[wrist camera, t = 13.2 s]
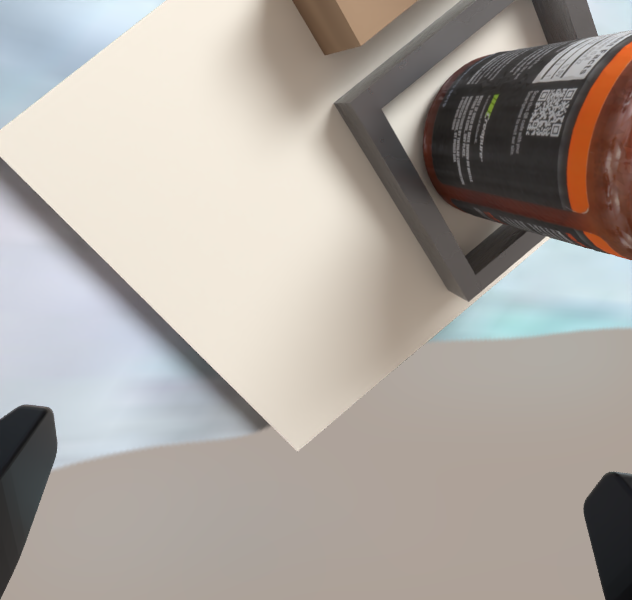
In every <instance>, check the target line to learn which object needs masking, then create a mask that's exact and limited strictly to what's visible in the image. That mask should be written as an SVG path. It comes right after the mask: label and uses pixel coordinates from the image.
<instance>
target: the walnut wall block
mask: <svg viewBox="0 0 632 600" xmlns="http://www.w3.org/2000/svg"><path fill="white" fill-rule="evenodd" d="M292 1H293V3H294V4H295V6H296V8H297V9H298V11H299V13H300V15H301V16H302V18H303V20H304V21H305V23H306V25H307V26H308V28H309V30H310V31H311V33H312V35H313V36H314V38H315V40H316V42H317V43H318V45H319V47H320V48H321V50H322V52H323V53H324V55H329V54H333V53H336V52H340V51H344V50H348V49H352V48H356V47H359V46H362V45H363V44H364V43H365V42H367V41H368V40H369V39H370V38H372V37H373V36H374V35H375V34H377V33H378V32H379V31H380V30H382V29H383V28H384V27H385V26H387V25H388V24H389V23H390V22H392V21H393V20H394V19H395V18H397V17H398V16H399V15H400V14H402V13H403V12H404V11H405V10H407V9H408V8H409V7H410V6H412V5H413V4H414V3H415V2H417V1H418V0H292Z"/></svg>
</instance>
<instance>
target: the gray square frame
mask: <svg viewBox="0 0 632 600" xmlns="http://www.w3.org/2000/svg"><path fill="white" fill-rule="evenodd" d="M513 1H515V0H460V1H459V2H458V3H457V4H456V5H454V6H453V7H452V8H451V9H449V10H448V11H447V12H446V13H444V14H443V15H442V16H441V17H439V18H438V19H437V20H436V21H434V22H433V23H432V24H431V25H429V26H428V27H427V28H426V29H425V30H423V31H422V32H421V33H420V34H418V35H417V36H416V37H415V38H413V39H412V40H411V41H410V42H408V43H407V44H406V45H405V46H403V47H402V48H401V49H400V50H399V51H397V52H396V53H395V54H394V55H392V56H391V57H390V58H389V59H387V60H386V61H385V62H384V63H382V64H381V65H380V66H379V67H377V68H376V69H375V70H374V71H373V72H371V73H370V74H369V75H368V76H366V77H365V78H364V79H363V80H361V81H360V82H359V83H358V84H356V85H355V86H354V87H353V88H351V89H350V90H349V91H348V92H347V93H345V94H344V95H343V96H342V97H340V98H339V99H338V100H337V101H335V102H334V105H335V107H336V108H337V110H338V111H339V113H340V115H341V116H342V118H343V120H344V121H345V123H346V125H347V126H348V128H349V129H350V131H351V133H352V134H353V136H354V138H355V139H356V141H357V143H358V144H359V146H360V147H361V149H362V151H363V152H364V154H365V156H366V157H367V159H368V160H369V162H370V164H371V165H372V167H373V169H374V170H375V172H376V174H377V175H378V177H379V178H380V180H381V182H382V183H383V185H384V187H385V188H386V190H387V192H388V193H389V195H390V196H391V198H392V200H393V201H394V203H395V205H396V206H397V208H398V209H399V211H400V213H401V214H402V216H403V218H404V219H405V221H406V223H407V224H408V226H409V227H410V229H411V231H412V232H413V234H414V236H415V237H416V239H417V241H418V242H419V244H420V245H421V247H422V249H423V250H424V252H425V254H426V255H427V257H428V258H429V260H430V262H431V263H432V265H433V267H434V268H435V270H436V272H437V273H438V275H439V276H440V278H441V280H442V281H443V283H444V285H445V286H446V288H447V290H448V291H450V292H452V293H453V294H455V295H457V296H459V297H461V298H462V299H464V300H466V301H468V302H469V301H470V300H472V299H473V298H474V297H475V296H476V295H478V294H479V293H480V292H481V291H482V290H483V289H485V288H486V287H487V286H488V285H489V284H491V283H492V282H493V281H494V280H495V279H497V278H498V277H499V276H500V275H501V274H502V273H504V272H505V271H506V270H507V269H508V268H510V267H511V266H512V265H513V264H514V263H515V262H517V261H518V260H519V259H520V258H521V257H523V256H524V255H525V254H526V253H527V252H528V251H530V250H531V249H532V248H533V247H534V246H536V245H537V244H538V243H539V242H540V241H541V240H543V239H544V238H545V237H546V236H543V235H539V234H536V233H532V232H529V231H525V230H522V229H518V228H515V227H512V226H508V225H505V224H502V225H501V226H500V227H499V228H498V229H496V230H495V231H494V232H493V233H492V234H491V235H489V236H488V237H487V238H486V239H485V240H483V241H482V242H481V243H480V244H479V245H477V246H476V247H475V248H474V249H473V250H471V251H470V252H469V253H468V254H467V255H466V256H464V254H463V252H462V250H461V249H460V247H459V245H458V243H457V242H456V240H455V238H454V236H453V234H452V233H451V231H450V229H449V227H448V226H447V224H446V222H445V220H444V219H443V217H442V215H441V213H440V212H439V210H438V208H437V206H436V204H435V203H434V201H433V199H432V197H431V196H430V194H429V192H428V190H427V189H426V187H425V185H424V183H423V182H422V180H421V178H420V176H419V174H418V173H417V171H416V169H415V167H414V166H413V164H412V162H411V160H410V159H409V157H408V155H407V153H406V152H405V150H404V148H403V146H402V144H401V143H400V141H399V139H398V137H397V136H396V134H395V132H394V130H393V129H392V127H391V125H390V123H389V122H388V120H387V118H386V116H385V114H384V113H383V111H382V108H383V107H384V106H386V105H387V104H388V103H389V102H390V101H392V100H393V99H394V98H395V97H397V96H398V95H399V94H400V93H402V92H403V91H404V90H405V89H406V88H408V87H409V86H410V85H411V84H413V83H414V82H415V81H416V80H417V79H419V78H420V77H421V76H422V75H424V74H425V73H426V72H427V71H429V70H430V69H431V68H432V67H433V66H435V65H436V64H437V63H438V62H440V61H441V60H442V59H443V58H445V57H446V56H447V55H448V54H449V53H451V52H452V51H453V50H454V49H456V48H457V47H458V46H459V45H461V44H462V43H463V42H464V41H465V40H467V39H468V38H469V37H470V36H472V35H473V34H474V33H475V32H477V31H478V30H479V29H480V28H481V27H483V26H484V25H485V24H486V23H488V22H489V21H490V20H491V19H493V18H494V17H495V16H496V15H497V14H499V13H500V12H501V11H502V10H504V9H505V8H506V7H507V6H509V5H510V4H511V3H512V2H513ZM532 3H533V5H534V8H535V11H536V13H537V16H538V19H539V21H540V24H541V27H542V30H543V32H544V35H545V38H546V40H547V43H548V44H553V43H560V42H565V41H572V40H577V39H583V38H590V37H596V36H598V34H597V31H596V28H595V25H594V22H593V19H592V16H591V13H590V10H589V6H588V3H587V0H532Z"/></svg>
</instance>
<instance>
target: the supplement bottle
mask: <svg viewBox="0 0 632 600" xmlns="http://www.w3.org/2000/svg"><path fill="white" fill-rule="evenodd" d="M423 157H424V162H425V167H426V170H427V173H428V176H429V178H430V180H431V182H432V184H433V186H434V188H435V189H436V191H437V192H438V194H439V195H440V196H441V197H442V198H443V199H444V200H445V201H446V202H447V203H448V204H450V205H451V206H453V207H454V208H456V209H458V210H460V211H463V212H465V213H468V214H471V215H473V216H476V217H480V218H483V219H487V220H490V221H494V222H497V223H500V224H505V225H508V226H512V227H515V228H518V229H522V230H525V231H529V232H532V233H536V234H539V235H543V236H547V237H550V238H553V239H557V240H561V241H564V242H568V243H571V244H575V245H578V246H582V247H584V248H589V249H593V250H595V251H600V252H603V253H607V254H612V255H615V256H618V257H622V258H626V259H629V260H632V30H631V31H625V32H619V33H613V34H607V35H601V36H596V37H590V38H583V39H577V40H572V41H565V42H560V43H553V44H546V45H541V46H535V47H529V48H523V49H516V50H512V51H503V52H497V53H495V54H491V55H486V56H483V57H480V58H477V59H475V60H472V61H470V62H469V63H467V64H465V65H464V66H462V67H461V68H460V69H458V70H457V71H456V72H455V73H453V74H452V75H451V76H450V77H449V78H448V79H447V81H446V82H445V83H444V84H443V85H442V87H441V88H440V90H439V92H438V94H437V95H436V97H435V99H434V100H433V103H432V105H431V107H430V109H429V112H428V116H427V119H426V122H425V127H424V136H423Z"/></svg>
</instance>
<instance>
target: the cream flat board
mask: <svg viewBox="0 0 632 600" xmlns="http://www.w3.org/2000/svg"><path fill="white" fill-rule="evenodd" d="M459 1H460V0H418V1H417V2H415V3H414V4H413V5H412V6H410V7H409V8H408V9H407V10H405V11H404V12H403V13H402V14H400V15H399V16H398V17H397V18H395V19H394V20H393V21H392V22H390V23H389V24H388V25H387V26H385V27H384V28H383V29H382V30H380V31H379V32H378V33H377V34H375V35H374V36H373V37H372V38H370V39H369V40H368V41H367V42H365V43H364V44H363V45H362V46H359V47H356V48H352V49H348V50H344V51H340V52H336V53H333V54H329V55H324V53H323V52H322V50H321V48H320V47H319V45H318V43H317V42H316V40H315V38H314V36H313V35H312V33H311V31H310V30H309V28H308V26H307V25H306V23H305V21H304V20H303V18H302V16H301V15H300V13H299V11H298V9H297V8H296V6H295V4H294V3H293V1H292V0H166V1H165V2H163V3H162V4H161V5H160V6H158V7H157V8H156V9H155V10H153V11H152V12H151V13H149V14H148V15H147V16H146V17H144V18H143V19H142V20H140V21H139V22H138V23H137V24H135V25H134V26H133V27H131V28H130V29H129V30H128V31H126V32H125V33H124V34H122V35H121V36H120V37H119V38H117V39H116V40H115V41H113V42H112V43H111V44H110V45H108V46H107V47H106V48H104V49H103V50H102V51H101V52H99V53H98V54H97V55H95V56H94V57H93V58H92V59H90V60H89V61H88V62H86V63H85V64H84V65H83V66H81V67H80V68H79V69H78V70H76V71H75V72H74V73H72V74H71V75H70V76H69V77H67V78H66V79H65V80H63V81H62V82H61V83H60V84H58V85H57V86H56V87H54V88H53V89H52V90H51V91H49V92H48V93H47V94H45V95H44V96H43V97H42V98H40V99H39V100H38V101H36V102H35V103H34V104H33V105H31V106H30V107H29V108H27V109H26V110H25V111H24V112H22V113H21V114H20V115H18V116H17V117H16V118H15V119H13V120H12V121H11V122H10V123H8V124H7V125H6V126H4V127H3V128H2V129H1V130H0V157H1V158H2V159H3V160H4V161H5V162H6V163H7V164H8V165H9V166H10V167H11V168H12V169H13V170H14V171H15V172H16V173H17V174H18V175H19V176H20V177H21V178H22V179H23V180H24V181H25V182H26V183H27V184H28V185H29V186H30V187H31V188H32V189H33V190H34V191H35V192H36V193H37V194H38V195H39V196H40V197H41V198H42V199H43V200H44V201H45V202H46V203H47V204H48V205H49V206H50V207H51V208H52V209H53V210H54V211H55V212H56V213H57V214H58V215H59V216H60V217H61V218H62V219H63V220H64V221H65V222H66V223H67V224H68V225H69V226H71V227H72V228H73V229H74V230H75V231H76V232H77V233H78V234H79V235H80V236H81V237H82V238H83V239H84V240H85V241H86V242H87V243H88V244H89V245H90V246H91V247H92V248H93V249H94V250H95V251H96V252H97V253H98V254H99V255H100V256H101V257H102V258H103V259H104V260H105V261H106V262H107V263H108V264H109V265H110V266H111V267H112V268H113V269H114V270H115V271H116V272H117V273H118V274H119V275H120V276H121V277H122V278H123V279H124V280H125V281H126V282H127V283H128V284H129V285H130V286H131V287H132V288H133V289H134V290H135V291H136V292H137V293H138V294H139V295H140V296H141V297H142V298H143V299H144V300H145V301H146V302H147V303H148V304H149V305H150V306H151V307H152V308H153V309H154V310H155V311H156V312H157V313H158V314H159V315H160V316H161V317H162V318H163V319H164V320H165V321H166V322H167V323H168V324H169V325H170V326H171V327H172V328H173V329H174V330H175V331H176V332H177V333H178V334H179V335H180V336H181V337H182V338H183V339H184V340H185V341H186V342H187V343H188V344H189V345H190V346H191V347H192V348H193V349H194V350H195V351H196V352H197V353H198V354H199V355H200V356H201V357H202V358H203V359H204V360H205V361H206V362H207V363H208V364H209V365H210V366H211V367H212V368H213V369H214V370H216V371H217V372H218V373H219V374H220V375H221V376H222V377H223V378H224V379H225V380H226V381H227V382H228V383H229V384H230V385H231V386H232V387H233V388H234V389H235V390H236V391H237V392H238V393H239V394H240V395H241V396H242V397H243V398H244V399H245V400H246V401H247V402H248V403H249V404H250V405H251V406H252V407H253V408H254V409H255V410H256V411H257V412H258V413H259V414H260V415H261V416H262V417H263V418H264V419H265V420H266V421H267V422H268V423H269V424H270V425H271V426H272V427H273V428H274V429H275V430H276V431H277V432H278V433H279V434H280V435H281V436H282V437H283V438H284V439H285V440H286V441H287V442H288V443H289V444H290V445H291V446H292V447H293V448H294V449H295V450H296V451H297V452H298V451H299V450H300V449H301V448H303V447H304V446H305V445H306V444H307V443H308V442H310V441H311V440H312V439H313V438H314V437H315V436H317V435H318V434H319V433H320V432H321V431H323V430H324V429H325V428H326V427H327V426H329V425H330V424H331V423H332V422H333V421H335V420H336V419H337V418H338V417H339V416H340V415H342V414H343V413H344V412H345V411H346V410H347V409H349V408H350V407H351V406H352V405H353V404H355V403H356V402H357V401H358V400H359V399H361V398H362V397H363V396H364V395H365V394H366V393H368V392H369V391H370V390H371V389H372V388H374V387H375V386H376V385H377V384H378V383H379V382H381V381H382V380H383V379H384V378H385V377H386V376H388V375H389V374H390V373H391V372H392V371H394V370H395V369H396V368H397V367H398V366H400V365H401V364H402V363H403V362H404V361H405V360H407V359H408V358H409V357H410V356H411V355H413V354H414V353H415V352H416V351H417V350H418V349H420V348H421V347H422V346H423V345H424V344H426V343H427V342H428V341H429V340H430V339H431V338H433V337H434V336H435V335H436V334H437V333H439V332H440V331H441V330H442V329H443V328H444V327H446V326H447V325H448V324H449V323H450V322H452V321H453V320H454V319H455V318H456V317H457V316H459V315H460V314H461V313H462V312H463V311H465V310H466V309H467V308H468V307H469V306H470V305H472V304H473V303H474V302H475V301H476V300H478V299H479V298H480V297H481V296H482V295H483V294H485V293H486V292H487V291H488V290H489V289H491V288H492V287H493V286H494V285H495V284H496V283H498V282H499V281H500V280H501V279H502V278H504V277H505V276H506V275H507V274H508V273H509V272H511V271H512V270H513V269H514V268H515V267H517V266H518V265H519V264H520V263H521V262H522V261H524V260H525V259H526V258H527V257H528V256H530V255H531V254H532V253H533V252H534V251H535V250H537V249H538V248H539V247H540V246H541V245H543V244H544V243H545V242H546V241H547V240H548V239H550V237H547V236H546V237H545V238H544V239H543V240H541V241H540V242H539V243H538V244H537V245H536V246H534V247H533V248H532V249H531V250H530V251H528V252H527V253H526V254H525V255H524V256H523V257H521V258H520V259H519V260H518V261H517V262H515V263H514V264H513V265H512V266H511V267H510V268H508V269H507V270H506V271H505V272H504V273H502V274H501V275H500V276H499V277H498V278H497V279H495V280H494V281H493V282H492V283H491V284H489V285H488V286H487V287H486V288H485V289H483V290H482V291H481V292H480V293H479V294H478V295H476V296H475V297H474V298H473V299H472V300H470V301H469V302H468V301H466V300H464V299H462V298H461V297H459V296H457V295H455V294H453V293H452V292H450V291H448V290H447V288H446V286H445V285H444V283H443V281H442V280H441V278H440V276H439V275H438V273H437V272H436V270H435V268H434V267H433V265H432V263H431V262H430V260H429V258H428V257H427V255H426V254H425V252H424V250H423V249H422V247H421V245H420V244H419V242H418V241H417V239H416V237H415V236H414V234H413V232H412V231H411V229H410V227H409V226H408V224H407V223H406V221H405V219H404V218H403V216H402V214H401V213H400V211H399V209H398V208H397V206H396V205H395V203H394V201H393V200H392V198H391V196H390V195H389V193H388V192H387V190H386V188H385V187H384V185H383V183H382V182H381V180H380V178H379V177H378V175H377V174H376V172H375V170H374V169H373V167H372V165H371V164H370V162H369V160H368V159H367V157H366V156H365V154H364V152H363V151H362V149H361V147H360V146H359V144H358V143H357V141H356V139H355V138H354V136H353V134H352V133H351V131H350V129H349V128H348V126H347V125H346V123H345V121H344V120H343V118H342V116H341V115H340V113H339V111H338V110H337V108H336V107H335V105H334V102H335V101H337V100H338V99H339V98H340V97H342V96H343V95H344V94H345V93H347V92H348V91H349V90H350V89H351V88H353V87H354V86H355V85H356V84H358V83H359V82H360V81H361V80H363V79H364V78H365V77H366V76H368V75H369V74H370V73H371V72H373V71H374V70H375V69H376V68H377V67H379V66H380V65H381V64H382V63H384V62H385V61H386V60H387V59H389V58H390V57H391V56H392V55H394V54H395V53H396V52H397V51H399V50H400V49H401V48H402V47H403V46H405V45H406V44H407V43H408V42H410V41H411V40H412V39H413V38H415V37H416V36H417V35H418V34H420V33H421V32H422V31H423V30H425V29H426V28H427V27H428V26H429V25H431V24H432V23H433V22H434V21H436V20H437V19H438V18H439V17H441V16H442V15H443V14H444V13H446V12H447V11H448V10H449V9H451V8H452V7H453V6H454V5H456V4H457V3H458V2H459ZM546 44H548V43H547V40H546V38H545V35H544V32H543V30H542V27H541V24H540V21H539V19H538V16H537V13H536V11H535V8H534V5H533V3H532V0H515V1H513V2H512V3H511V4H510V5H509V6H507V7H506V8H505V9H504V10H502V11H501V12H500V13H499V14H497V15H496V16H495V17H494V18H493V19H491V20H490V21H489V22H488V23H486V24H485V25H484V26H483V27H481V28H480V29H479V30H478V31H477V32H475V33H474V34H473V35H472V36H470V37H469V38H468V39H467V40H465V41H464V42H463V43H462V44H461V45H459V46H458V47H457V48H456V49H454V50H453V51H452V52H451V53H449V54H448V55H447V56H446V57H445V58H443V59H442V60H441V61H440V62H438V63H437V64H436V65H435V66H433V67H432V68H431V69H430V70H429V71H427V72H426V73H425V74H424V75H422V76H421V77H420V78H419V79H417V80H416V81H415V82H414V83H413V84H411V85H410V86H409V87H408V88H406V89H405V90H404V91H403V92H402V93H400V94H399V95H398V96H397V97H395V98H394V99H393V100H392V101H390V102H389V103H388V104H387V105H386V106H384V107H383V108H382V111H383V113H384V114H385V116H386V118H387V120H388V122H389V123H390V125H391V127H392V129H393V130H394V132H395V134H396V136H397V137H398V139H399V141H400V143H401V144H402V146H403V148H404V150H405V152H406V153H407V155H408V157H409V159H410V160H411V162H412V164H413V166H414V167H415V169H416V171H417V173H418V174H419V176H420V178H421V180H422V182H423V183H424V185H425V187H426V189H427V190H428V192H429V194H430V196H431V197H432V199H433V201H434V203H435V204H436V206H437V208H438V210H439V212H440V213H441V215H442V217H443V219H444V220H445V222H446V224H447V226H448V227H449V229H450V231H451V233H452V234H453V236H454V238H455V240H456V242H457V243H458V245H459V247H460V249H461V250H462V252H463V254H464V256H466V255H467V254H468V253H469V252H470V251H471V250H473V249H474V248H475V247H476V246H477V245H479V244H480V243H481V242H482V241H483V240H485V239H486V238H487V237H488V236H489V235H491V234H492V233H493V232H494V231H495V230H496V229H498V228H499V227H500V226H501V225H502V224H500V223H497V222H494V221H490V220H487V219H483V218H480V217H476V216H473V215H471V214H468V213H465V212H463V211H460V210H458V209H456V208H454V207H453V206H451V205H450V204H448V203H447V202H446V201H445V200H444V199H443V198H442V197H441V196H440V195H439V194H438V192H437V191H436V189H435V188H434V186H433V184H432V182H431V180H430V178H429V176H428V173H427V170H426V167H425V162H424V157H423V136H424V127H425V122H426V119H427V116H428V112H429V109H430V107H431V105H432V103H433V100H434V99H435V97H436V95H437V94H438V92H439V90H440V88H441V87H442V85H443V84H444V83H445V82H446V81H447V79H448V78H449V77H450V76H451V75H452V74H453V73H455V72H456V71H457V70H458V69H460V68H461V67H462V66H464V65H465V64H467V63H469V62H470V61H472V60H475V59H477V58H480V57H483V56H486V55H491V54H495V53H497V52H503V51H512V50H516V49H523V48H529V47H535V46H541V45H546Z"/></svg>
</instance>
